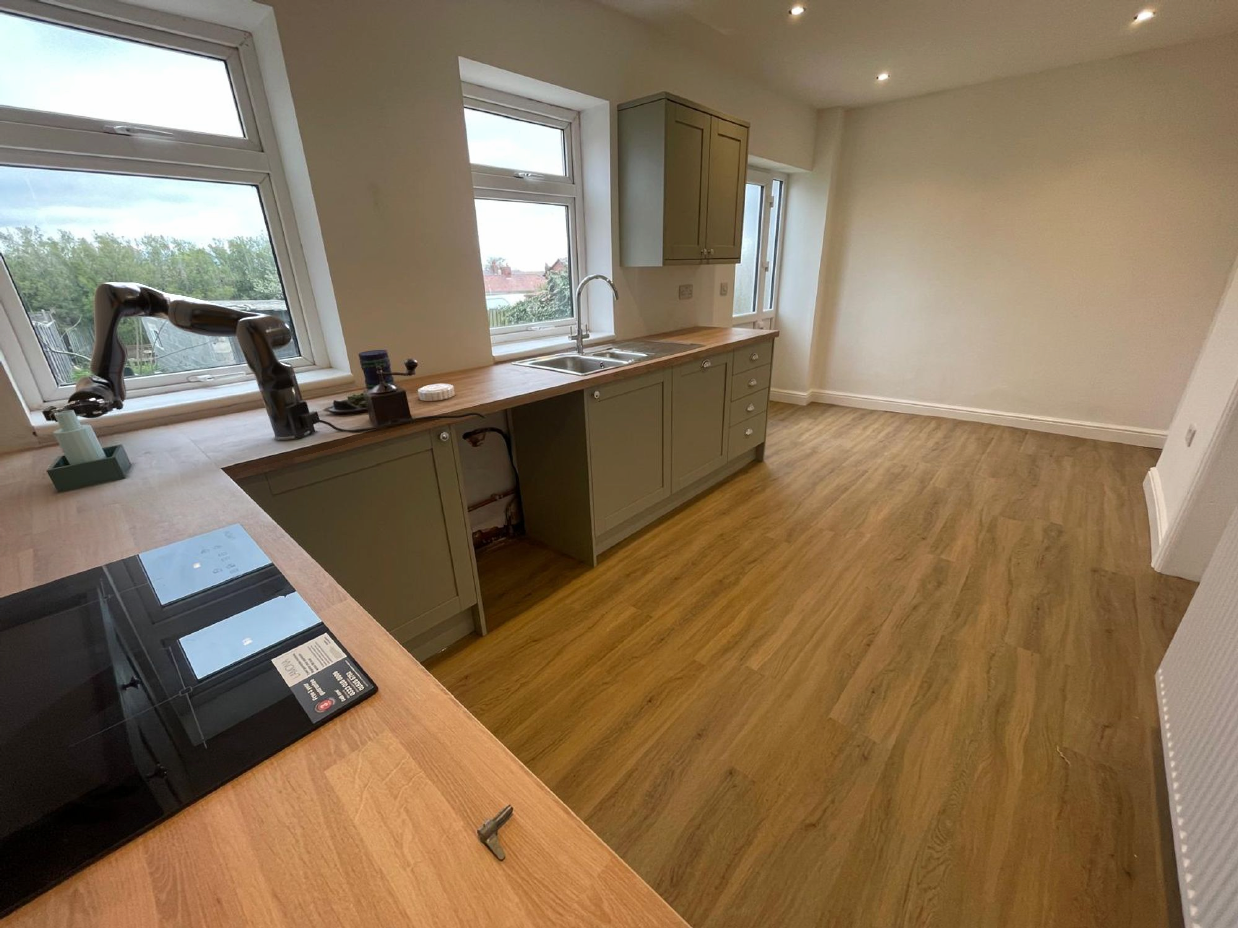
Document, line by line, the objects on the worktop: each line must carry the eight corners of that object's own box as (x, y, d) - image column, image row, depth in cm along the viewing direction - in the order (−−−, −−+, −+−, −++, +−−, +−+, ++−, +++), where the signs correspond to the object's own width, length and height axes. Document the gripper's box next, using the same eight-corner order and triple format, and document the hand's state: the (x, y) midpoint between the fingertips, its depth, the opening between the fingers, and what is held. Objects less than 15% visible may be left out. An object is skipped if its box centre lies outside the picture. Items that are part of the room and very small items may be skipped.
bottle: (119, 471, 124) (89, 408, 117) (89, 481, 118) (56, 417, 112) (101, 469, 125) (70, 408, 119) (71, 480, 120) (37, 416, 113)
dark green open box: (131, 464, 129) (122, 444, 127) (125, 478, 120) (115, 456, 118) (69, 476, 123) (58, 456, 121) (58, 492, 114) (46, 470, 112)
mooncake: (413, 398, 177) (411, 388, 176) (444, 390, 185) (442, 380, 184) (429, 403, 169) (427, 393, 168) (461, 395, 177) (459, 385, 176)
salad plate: (338, 402, 176) (334, 389, 175) (391, 396, 180) (388, 384, 178) (320, 418, 159) (316, 404, 157) (380, 412, 162) (377, 398, 160)
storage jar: (361, 395, 183) (351, 354, 178) (382, 388, 192) (373, 349, 186) (382, 397, 180) (372, 355, 174) (402, 390, 188) (393, 350, 182)
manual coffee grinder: (377, 428, 147) (362, 367, 140) (368, 419, 155) (354, 362, 148) (430, 416, 156) (418, 358, 148) (419, 409, 164) (407, 353, 157)
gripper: (47, 393, 131) (30, 405, 119) (120, 383, 139) (111, 393, 127) (61, 420, 134) (46, 435, 122) (131, 409, 142) (124, 421, 130)
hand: (79, 414), depth 124 cm, fingers open, 8 cm apart
